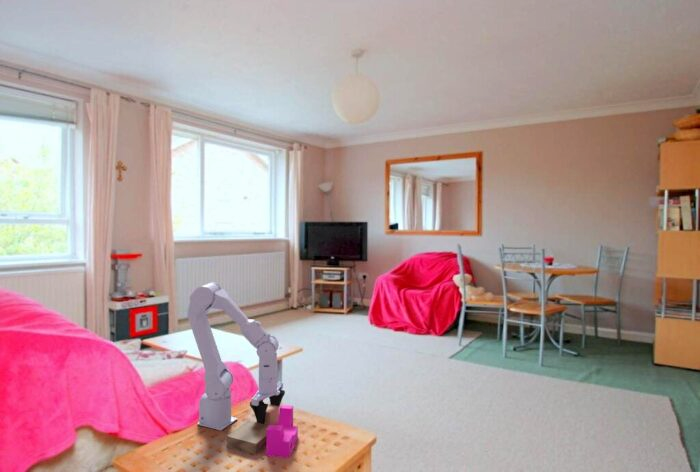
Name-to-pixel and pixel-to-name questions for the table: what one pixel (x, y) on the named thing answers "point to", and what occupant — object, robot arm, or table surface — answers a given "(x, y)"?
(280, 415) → the toy block
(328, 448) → the table surface
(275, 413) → the terracotta cube
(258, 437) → the taupe block
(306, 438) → the table surface
